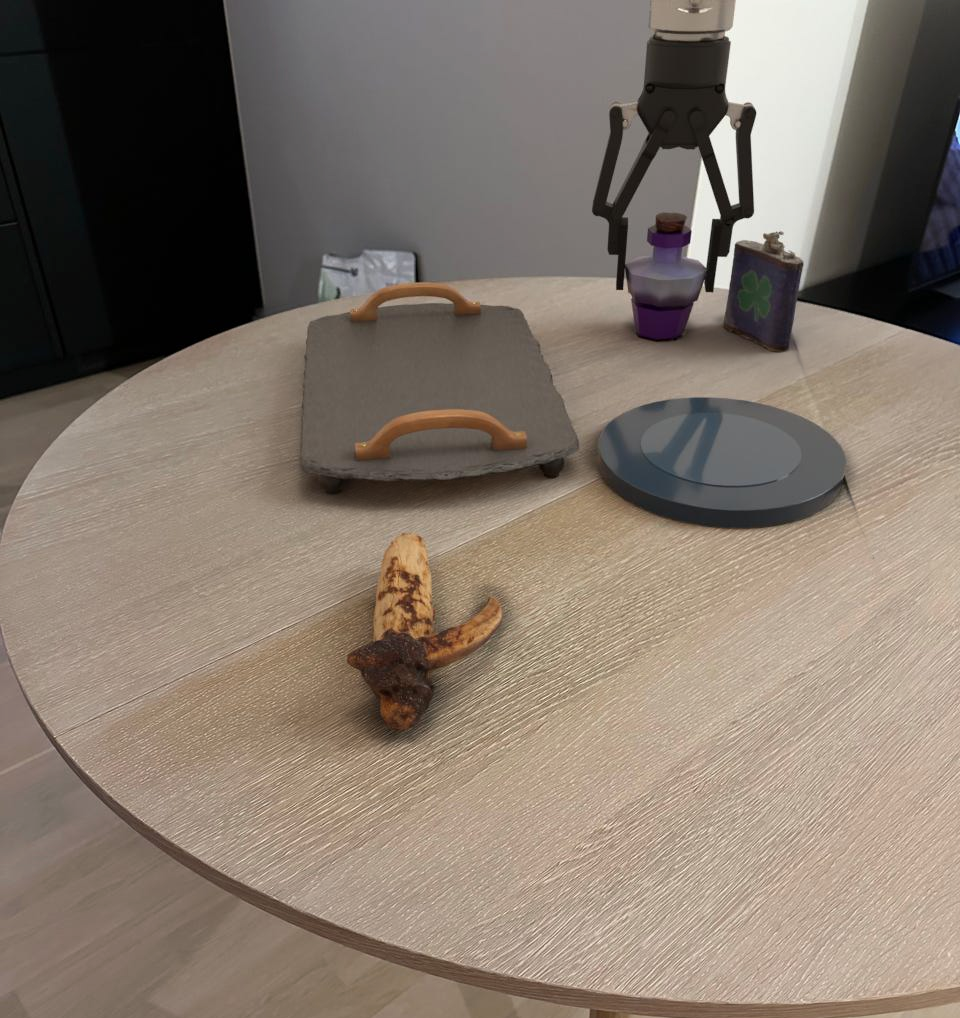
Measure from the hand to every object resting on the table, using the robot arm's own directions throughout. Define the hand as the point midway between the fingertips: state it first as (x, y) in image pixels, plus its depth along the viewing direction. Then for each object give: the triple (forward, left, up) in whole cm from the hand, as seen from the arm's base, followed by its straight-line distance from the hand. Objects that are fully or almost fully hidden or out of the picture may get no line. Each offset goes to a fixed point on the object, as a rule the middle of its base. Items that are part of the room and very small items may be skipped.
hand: (663, 286), depth 101 cm
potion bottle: (0, 0, -5) cm, 5 cm away
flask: (-10, +1, -5) cm, 11 cm away
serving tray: (+22, +20, -5) cm, 30 cm away
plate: (-4, +30, -5) cm, 31 cm away
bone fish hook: (+16, +56, -5) cm, 58 cm away
